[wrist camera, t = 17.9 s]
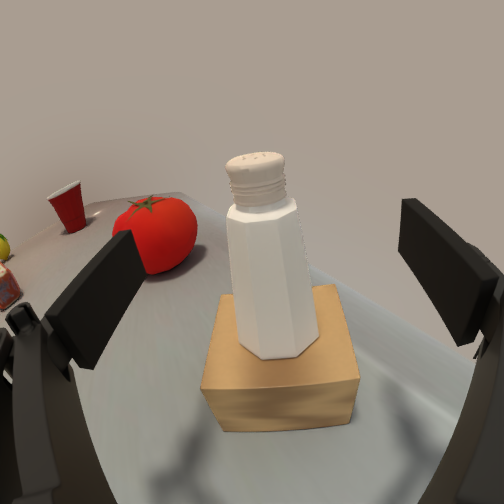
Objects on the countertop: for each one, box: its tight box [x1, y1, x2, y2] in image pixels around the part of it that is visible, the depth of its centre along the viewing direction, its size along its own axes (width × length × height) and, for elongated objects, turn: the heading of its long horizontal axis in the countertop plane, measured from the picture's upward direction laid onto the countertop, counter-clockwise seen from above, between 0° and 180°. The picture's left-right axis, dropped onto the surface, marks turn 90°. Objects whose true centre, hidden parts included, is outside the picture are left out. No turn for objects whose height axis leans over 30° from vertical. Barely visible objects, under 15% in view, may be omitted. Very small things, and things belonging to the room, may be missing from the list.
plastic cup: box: [47, 180, 86, 233], centre depth 64 cm, size 11×11×12 cm
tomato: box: [112, 195, 198, 275], centre depth 39 cm, size 11×13×10 cm
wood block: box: [200, 284, 360, 432], centre depth 20 cm, size 9×9×6 cm
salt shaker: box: [225, 152, 319, 360], centre depth 16 cm, size 5×5×11 cm
